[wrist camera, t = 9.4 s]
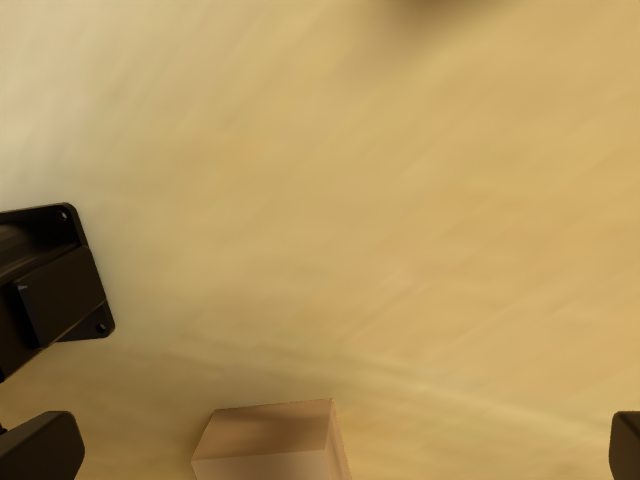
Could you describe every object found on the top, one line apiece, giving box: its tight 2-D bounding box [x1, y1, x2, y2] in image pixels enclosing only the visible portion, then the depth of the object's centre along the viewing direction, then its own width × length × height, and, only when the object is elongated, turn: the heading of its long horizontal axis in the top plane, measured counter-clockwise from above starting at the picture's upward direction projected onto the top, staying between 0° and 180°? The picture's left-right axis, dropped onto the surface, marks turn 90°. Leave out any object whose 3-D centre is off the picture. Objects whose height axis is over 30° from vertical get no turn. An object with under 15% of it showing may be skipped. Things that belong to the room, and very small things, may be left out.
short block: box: [190, 398, 352, 480], centre depth 22 cm, size 6×6×4 cm
